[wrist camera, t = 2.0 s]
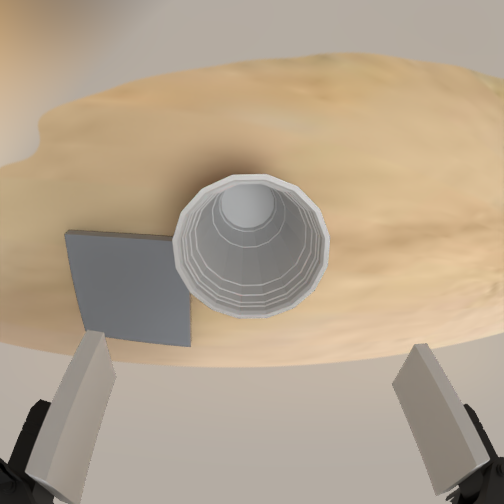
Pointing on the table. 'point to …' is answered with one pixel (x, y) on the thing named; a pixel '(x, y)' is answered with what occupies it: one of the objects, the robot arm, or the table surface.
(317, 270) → the plastic cup
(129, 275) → the slate tile
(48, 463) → the robot arm
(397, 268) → the table surface
